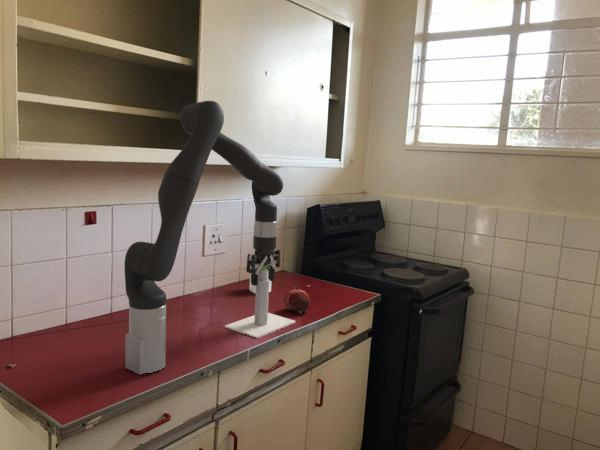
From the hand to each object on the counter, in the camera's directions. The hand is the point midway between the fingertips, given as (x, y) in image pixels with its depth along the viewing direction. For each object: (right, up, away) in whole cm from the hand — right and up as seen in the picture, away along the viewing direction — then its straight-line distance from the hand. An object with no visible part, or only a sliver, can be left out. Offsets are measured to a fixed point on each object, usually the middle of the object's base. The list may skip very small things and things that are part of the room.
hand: (263, 282), depth 166 cm
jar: (-4, -8, +41) cm, 42 cm away
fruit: (+11, -13, +18) cm, 25 cm away
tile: (-1, -14, +2) cm, 15 cm away
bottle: (-1, -14, +2) cm, 14 cm away
